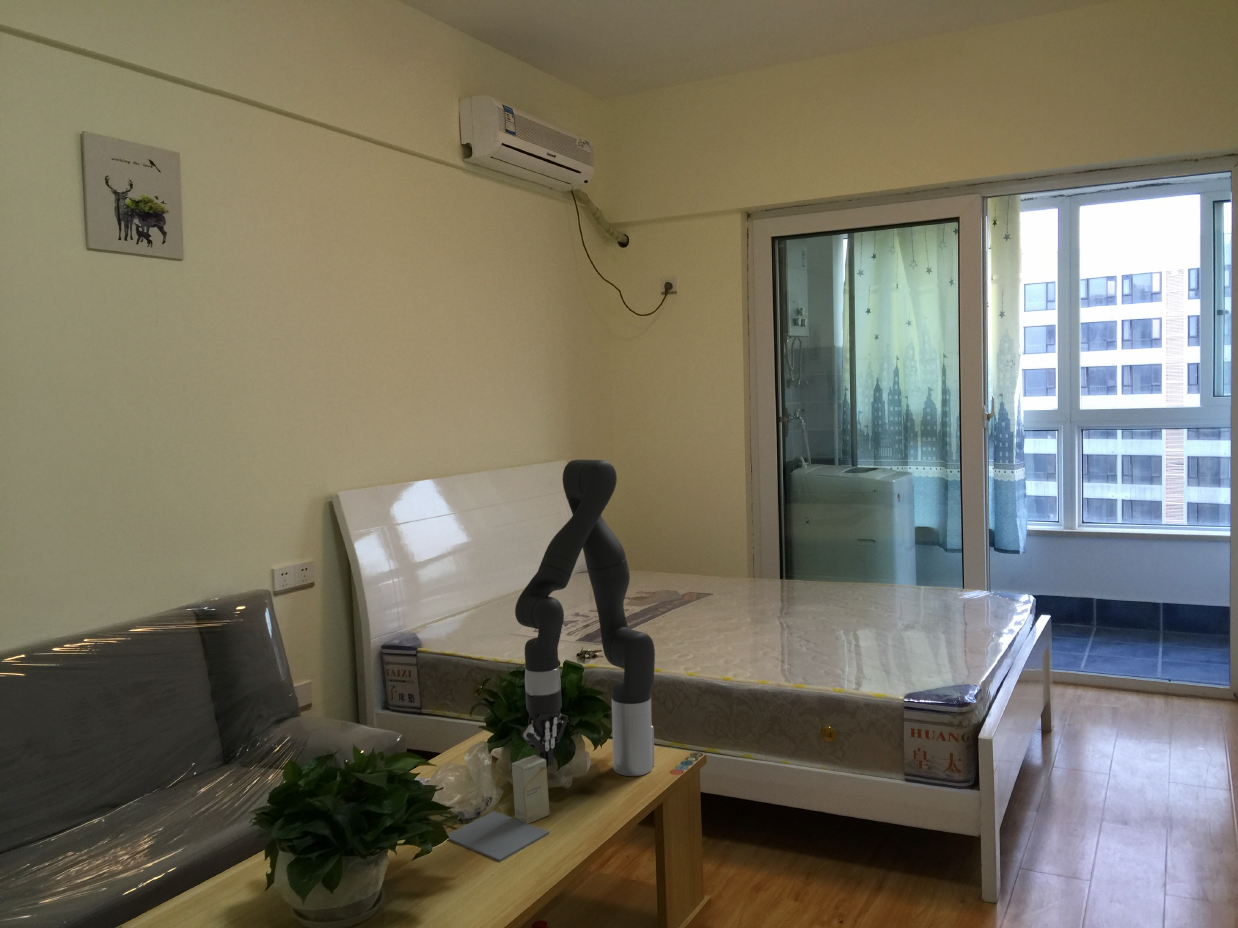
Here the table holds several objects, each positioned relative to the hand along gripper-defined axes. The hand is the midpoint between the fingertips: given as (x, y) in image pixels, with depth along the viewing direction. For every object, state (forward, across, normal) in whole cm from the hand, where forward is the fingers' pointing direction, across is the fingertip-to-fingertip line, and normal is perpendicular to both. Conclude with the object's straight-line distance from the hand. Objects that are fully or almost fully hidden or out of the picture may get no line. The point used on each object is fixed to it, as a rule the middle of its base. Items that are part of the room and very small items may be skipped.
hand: (546, 765), depth 206 cm
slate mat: (+9, +16, 0) cm, 18 cm away
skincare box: (+9, +5, 0) cm, 11 cm away
